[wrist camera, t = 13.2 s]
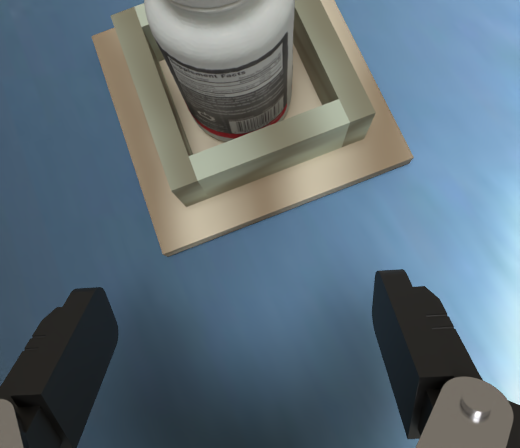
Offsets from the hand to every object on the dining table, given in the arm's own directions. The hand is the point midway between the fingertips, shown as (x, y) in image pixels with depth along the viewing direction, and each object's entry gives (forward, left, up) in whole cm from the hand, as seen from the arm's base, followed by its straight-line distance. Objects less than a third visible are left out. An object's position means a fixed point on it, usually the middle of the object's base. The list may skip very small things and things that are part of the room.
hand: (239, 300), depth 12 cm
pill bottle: (+3, +10, -7) cm, 13 cm away
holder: (+3, +10, -8) cm, 13 cm away
